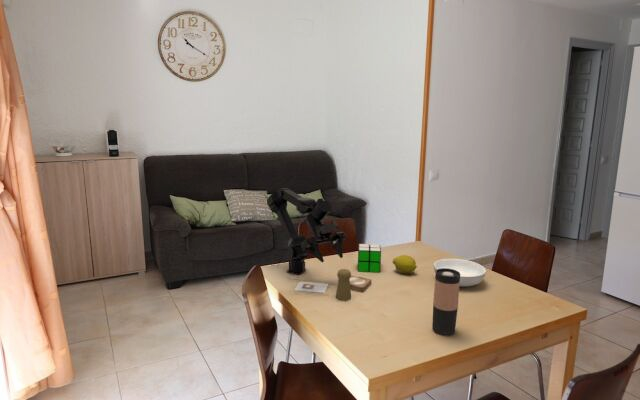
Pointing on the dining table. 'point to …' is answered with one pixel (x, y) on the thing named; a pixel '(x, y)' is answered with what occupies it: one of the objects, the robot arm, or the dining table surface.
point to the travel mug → (445, 301)
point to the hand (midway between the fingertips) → (332, 259)
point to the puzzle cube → (369, 258)
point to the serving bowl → (463, 270)
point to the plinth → (359, 283)
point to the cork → (343, 285)
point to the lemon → (405, 264)
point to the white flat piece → (311, 287)
